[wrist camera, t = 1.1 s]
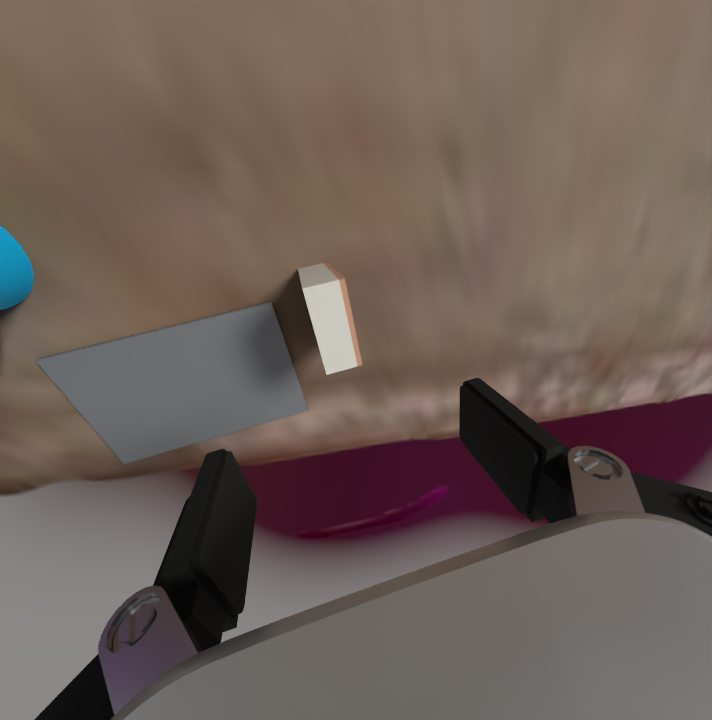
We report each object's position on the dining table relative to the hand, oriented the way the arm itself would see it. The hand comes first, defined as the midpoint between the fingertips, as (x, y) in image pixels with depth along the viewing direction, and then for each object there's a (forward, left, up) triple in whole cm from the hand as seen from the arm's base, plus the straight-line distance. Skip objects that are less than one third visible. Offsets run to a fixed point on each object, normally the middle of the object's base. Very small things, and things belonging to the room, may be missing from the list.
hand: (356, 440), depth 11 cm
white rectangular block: (-1, +1, -21) cm, 21 cm away
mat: (+5, -15, -21) cm, 26 cm away
